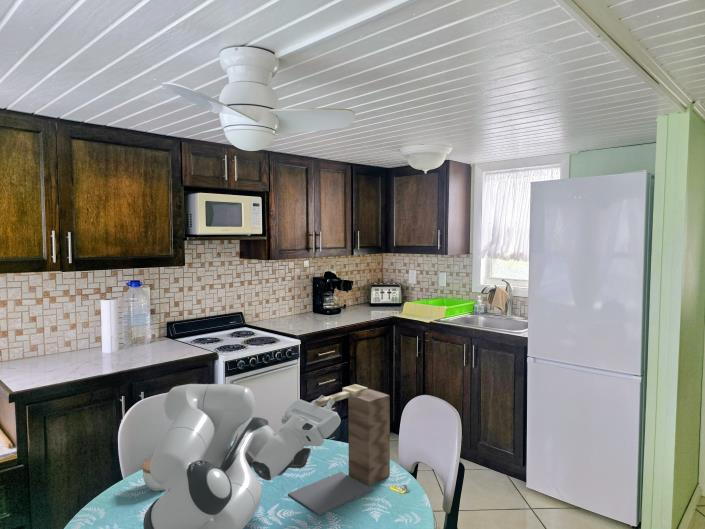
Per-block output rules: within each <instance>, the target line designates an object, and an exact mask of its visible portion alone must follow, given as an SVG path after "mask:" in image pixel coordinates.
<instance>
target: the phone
mask: <svg viewBox="0 0 705 529" xmlns="http://www.w3.org/2000/svg"><path fill="white" fill-rule="evenodd" d="M311 452H312V448H309V447H304V448H303V449H302V450H300V451H299V452H298V453H296V455H295V456H294V461H293V463H292V464H291V466H290V467H289V468H304V467H306V464H307V462H308V460H307V459H309V457H310V455H309V454H311Z"/></svg>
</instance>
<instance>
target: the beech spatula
mask: <svg viewBox="0 0 705 529" xmlns="http://www.w3.org/2000/svg"><path fill="white" fill-rule="evenodd" d="M368 389H369V387H367V386H364V385H360V384H356V383H354V384H352V385H351V384H350V385H348V386H345V387H342V391H340V392H337V393H334V394H331V395H328V396H325V397H324V398H321V399H318V398H316V399H317V400H316V399H315V400H316V405H318V406H320V407H324V406H326V405H327V402H326V401H327V400H328V399H329V398H332V399H334V401H335V402H339V401H341V400H344V399H348V397H354V398H356V397H359V396H362V395H365V394H368Z"/></svg>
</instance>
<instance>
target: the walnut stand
mask: <svg viewBox="0 0 705 529" xmlns="http://www.w3.org/2000/svg"><path fill="white" fill-rule="evenodd" d="M347 399H348V400H347V404H348V411H347V412H348V416H347V417H348V424H347V425H348V428H347V429H348V476H350V477H352V478H354V479H356V480H358V481H360V482H361V483H363V484H365V485H367V486H369V487H370V486H371V485H373V484H375V483H377V482H380V481H383V480H384V479H387V478H389V477H390V476H391V475H390V474H391V471H390V468H391V466H390V463H391V460H390V458H391V455H390V454H391V451H390V450H391V445H390V443H391V442H390V441H391V437H390V436H391V435H390V434H391V430H390V429H391V425H390V424H391V421H390V420H391V419H390V416H391V414H390V412H391V411H390V410H391V408H390V406H391V404H390V403H391V401H390V399H391V398H390V394H387V393H384V392H381V391H377V390H375V389H371V388H368V394H365V395H362V396H359V397H356V398H354V397H348V398H347ZM388 476H389V477H388ZM386 477H387V478H386Z"/></svg>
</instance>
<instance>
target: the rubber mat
mask: <svg viewBox="0 0 705 529" xmlns="http://www.w3.org/2000/svg"><path fill="white" fill-rule="evenodd" d="M372 491H374V488H373V487H371V486H370V485H369V486H368V485H366V484H365V483H363V482H361V481H359V480H357V479H355V478H353V477H351V476H349V474H346V473H344V472H343V471H339V472H337V473H334V474H332V475H330V476H327V477H325V478H323V479H319V480H317V481H314V482H313V483H310V484H307V485H305V486H302V487H300V488H298V489H296V490H292V491H290V492H288V493H287V494H288V496H289V497H291V498H293V500H295V501H296V502H298V503H300V504H301V505H303V506H305V507H306V508H307V509H309V510H310V511H311V512H313V513H315V514H317V516H321V515H323V514H326V513H328V512H330V511H331V510H334V509H337V508H339V507H340V506H343V505H344V504H346V503H349V502H351V501H354V500H355V499H357V498H360V497H361V496H363V495H366V494H367V493H370V492H372Z"/></svg>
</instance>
